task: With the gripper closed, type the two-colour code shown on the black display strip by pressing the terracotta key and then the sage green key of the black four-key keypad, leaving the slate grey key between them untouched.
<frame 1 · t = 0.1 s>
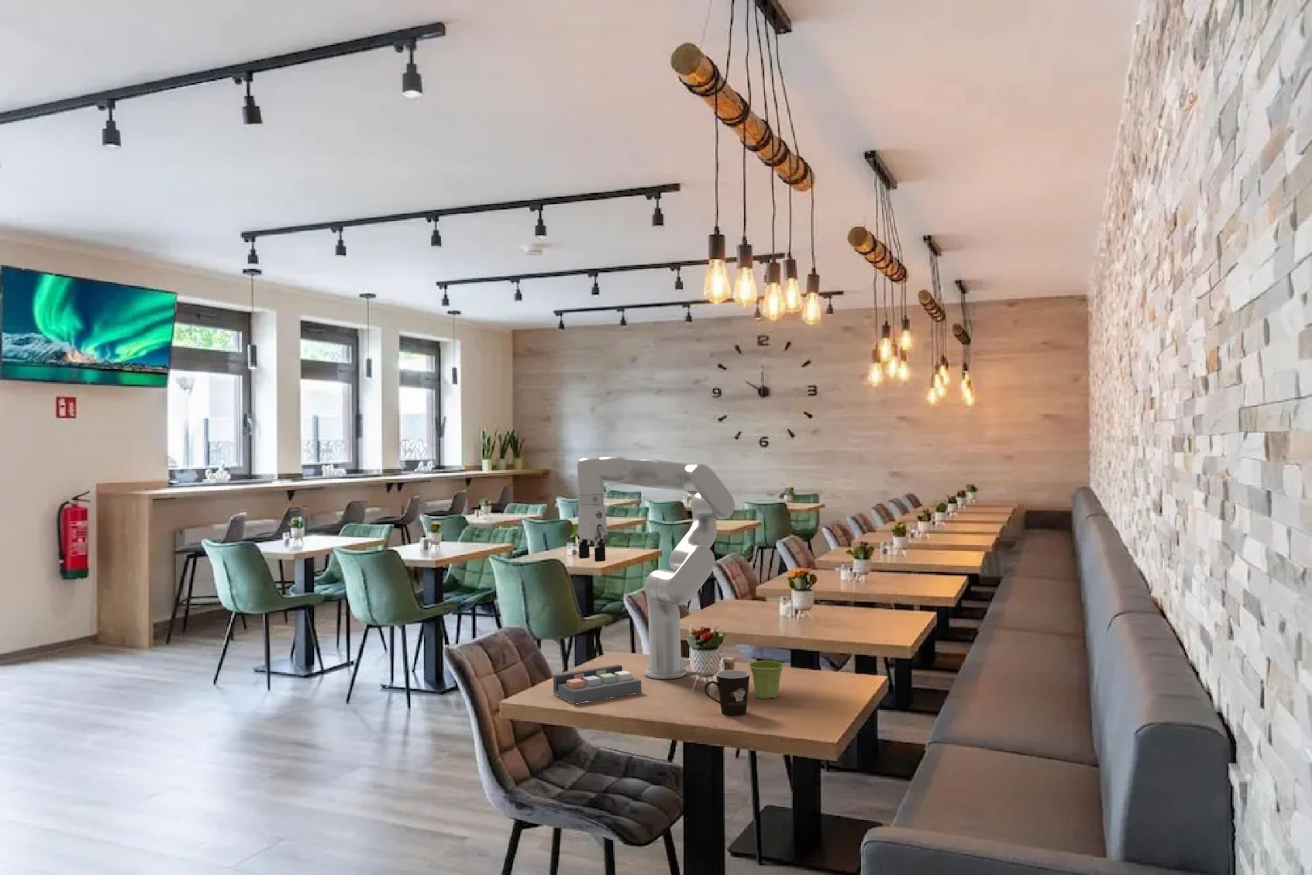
hand: (592, 559, 274), 37 cm above the table, tool pointing down, fingers open, 9 cm apart
coffee mug: (728, 713, 244), on the table
key cream: (623, 676, 268), point 4 cm above the table, slide at 0.0 cm
key terracotta: (575, 684, 261), point 4 cm above the table, slide at 0.0 cm
key sage: (607, 679, 266), point 4 cm above the table, slide at 0.0 cm
plant pot: (767, 696, 259), on the table
keypad: (599, 694, 264), on the table
key slate: (591, 682, 263), point 4 cm above the table, slide at 0.0 cm
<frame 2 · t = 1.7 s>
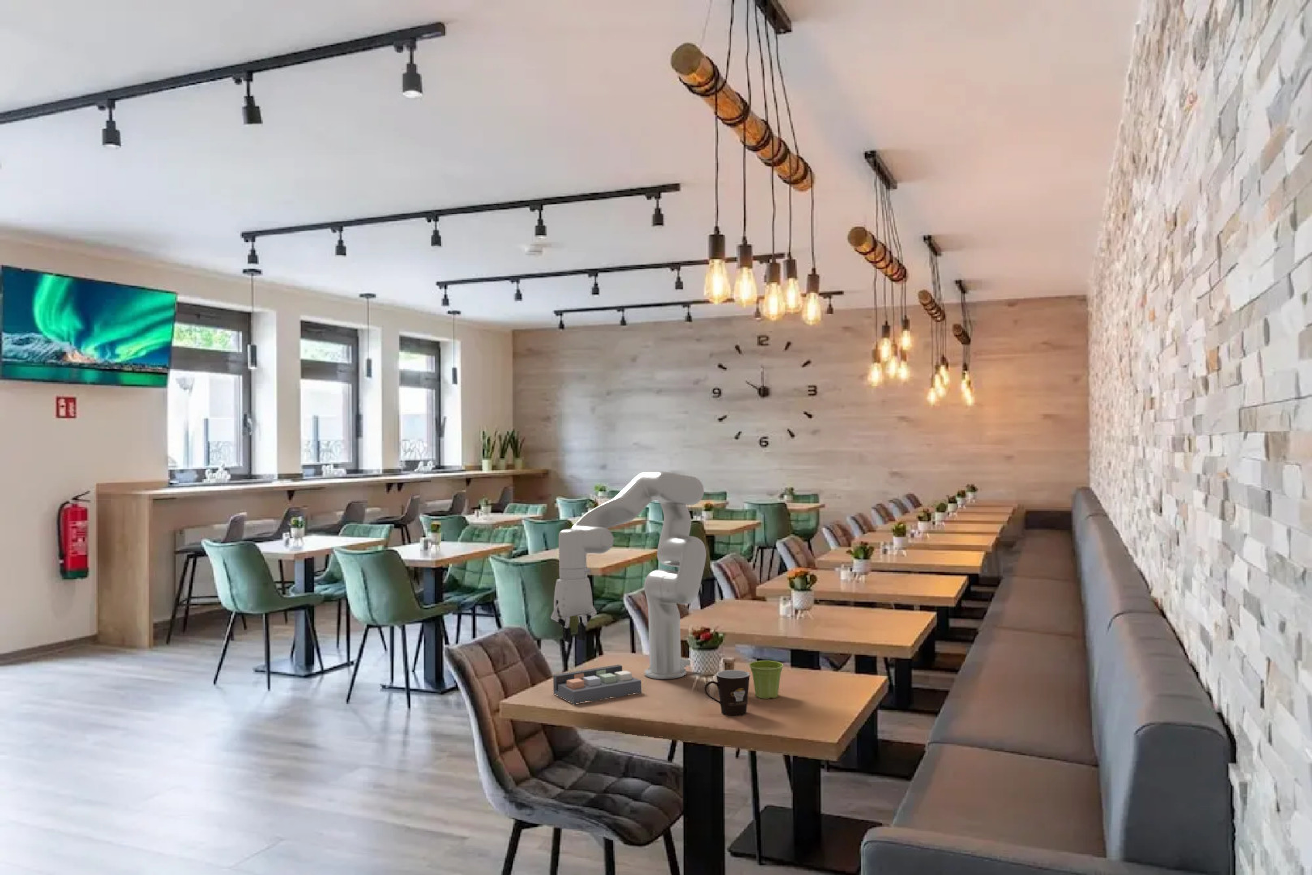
hand: (574, 639, 261), 16 cm above the table, tool pointing down, fingers open, 3 cm apart
nothing on the table moved.
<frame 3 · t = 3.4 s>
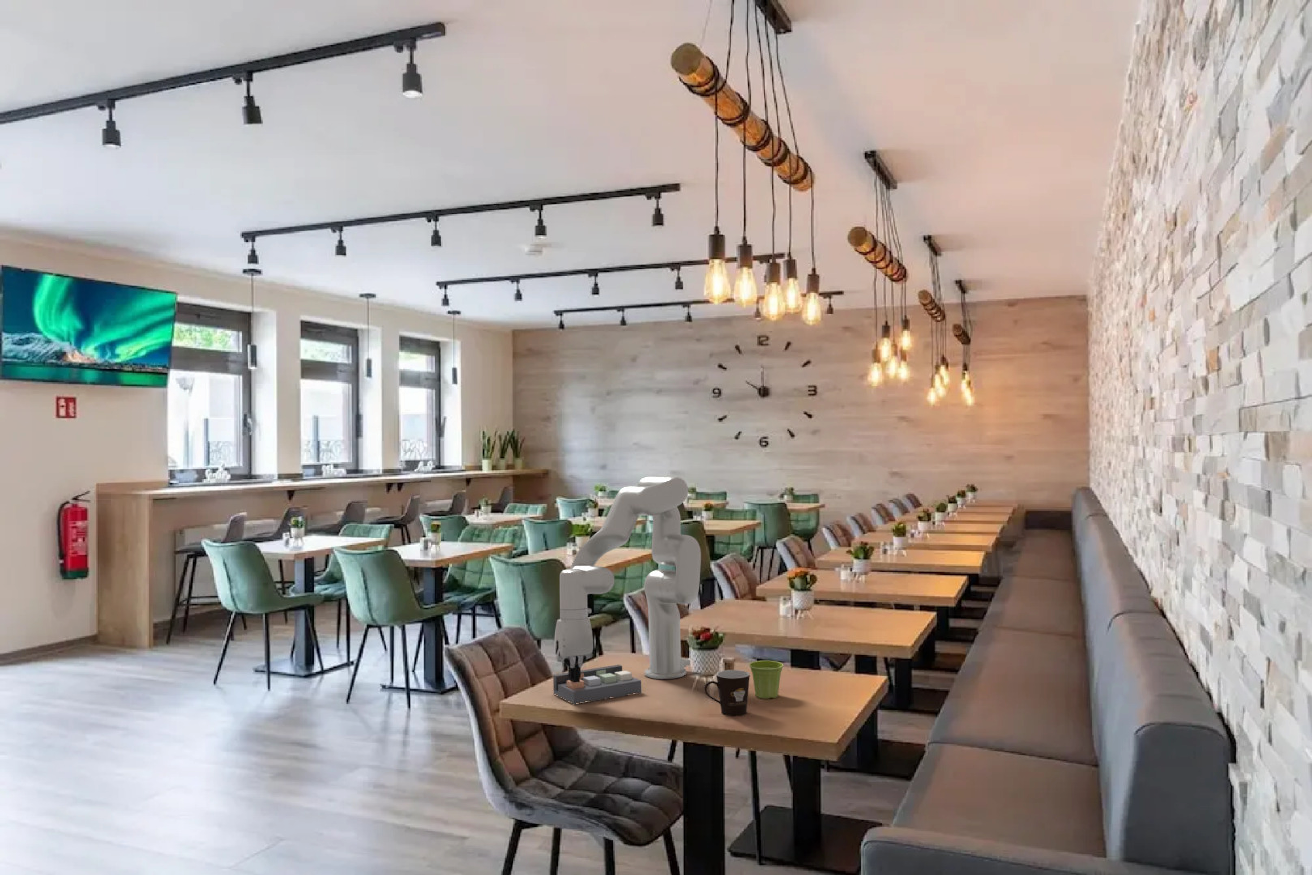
hand: (574, 681, 260), 5 cm above the table, tool pointing down, fingers closed
key terracotta: (575, 685, 261), point 4 cm above the table, slide at 0.1 cm, touching gripper
everything else where it was.
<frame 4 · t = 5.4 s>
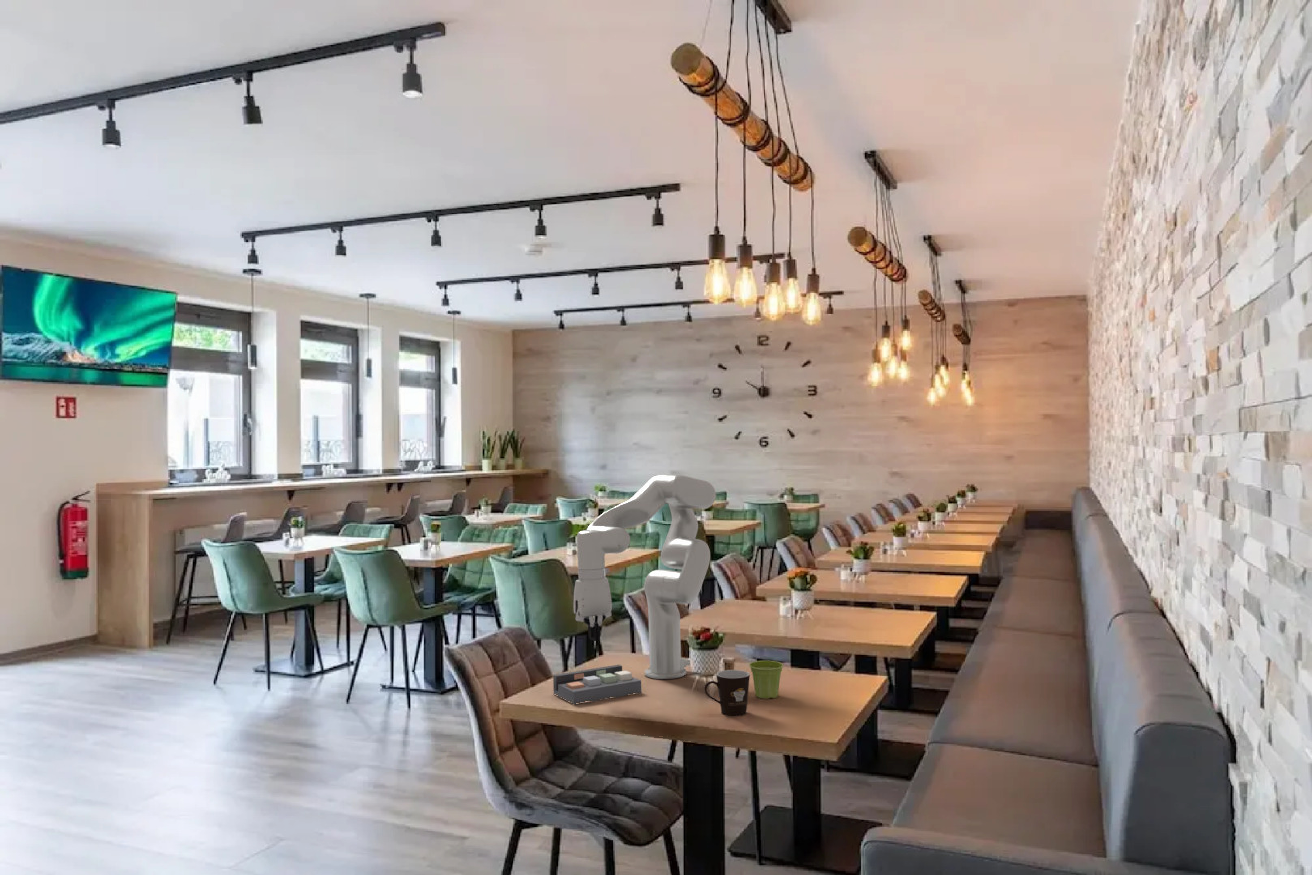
hand: (594, 639, 264), 15 cm above the table, tool pointing down, fingers closed
key terracotta: (575, 688, 261), point 3 cm above the table, slide at 0.9 cm
everything else where it was.
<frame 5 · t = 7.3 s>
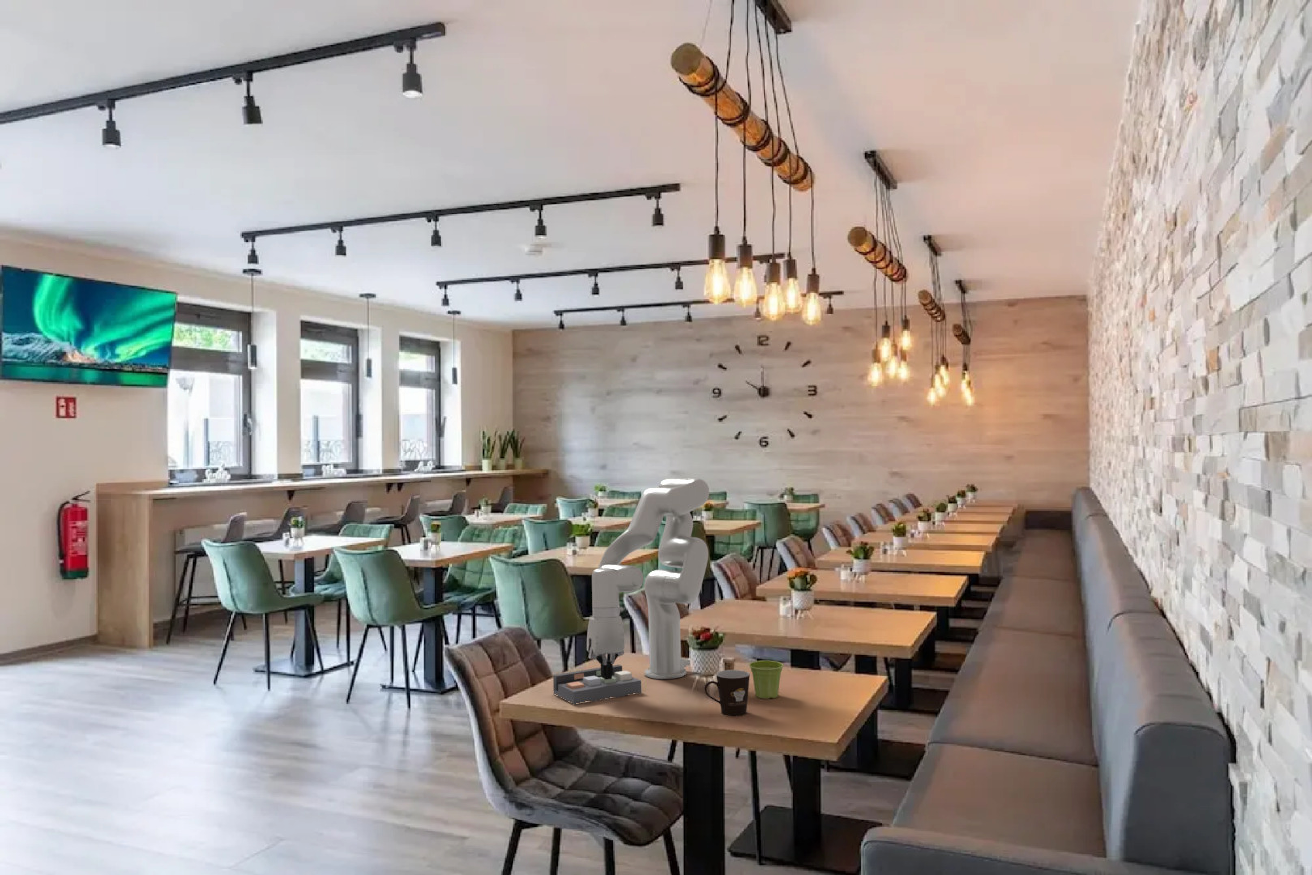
hand: (606, 677, 266), 4 cm above the table, tool pointing down, fingers closed
key sage: (607, 682, 266), point 3 cm above the table, slide at 0.8 cm, touching gripper
everything else where it was.
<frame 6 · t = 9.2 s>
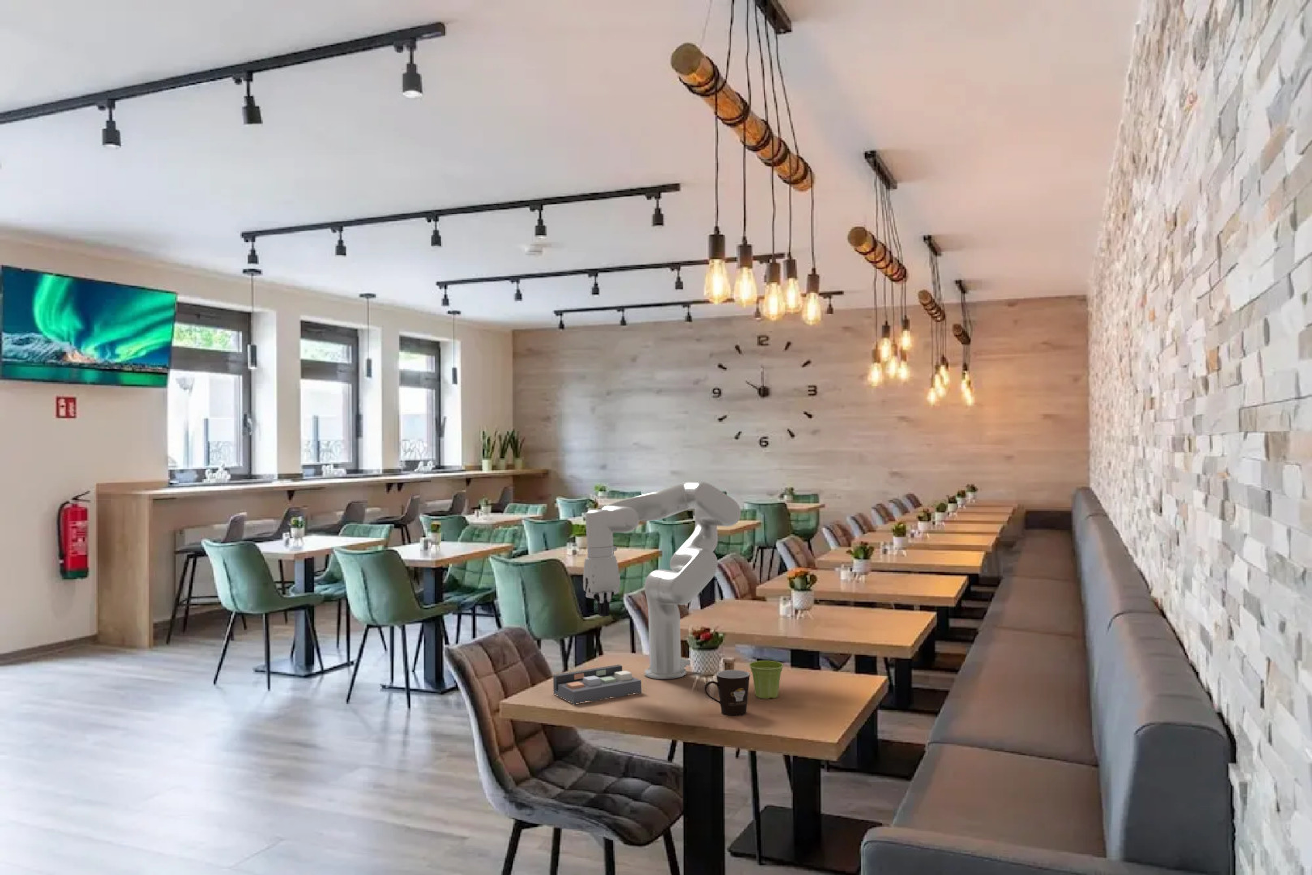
hand: (604, 615, 273), 21 cm above the table, tool pointing down, fingers closed
key sage: (607, 682, 266), point 3 cm above the table, slide at 0.9 cm
everything else where it was.
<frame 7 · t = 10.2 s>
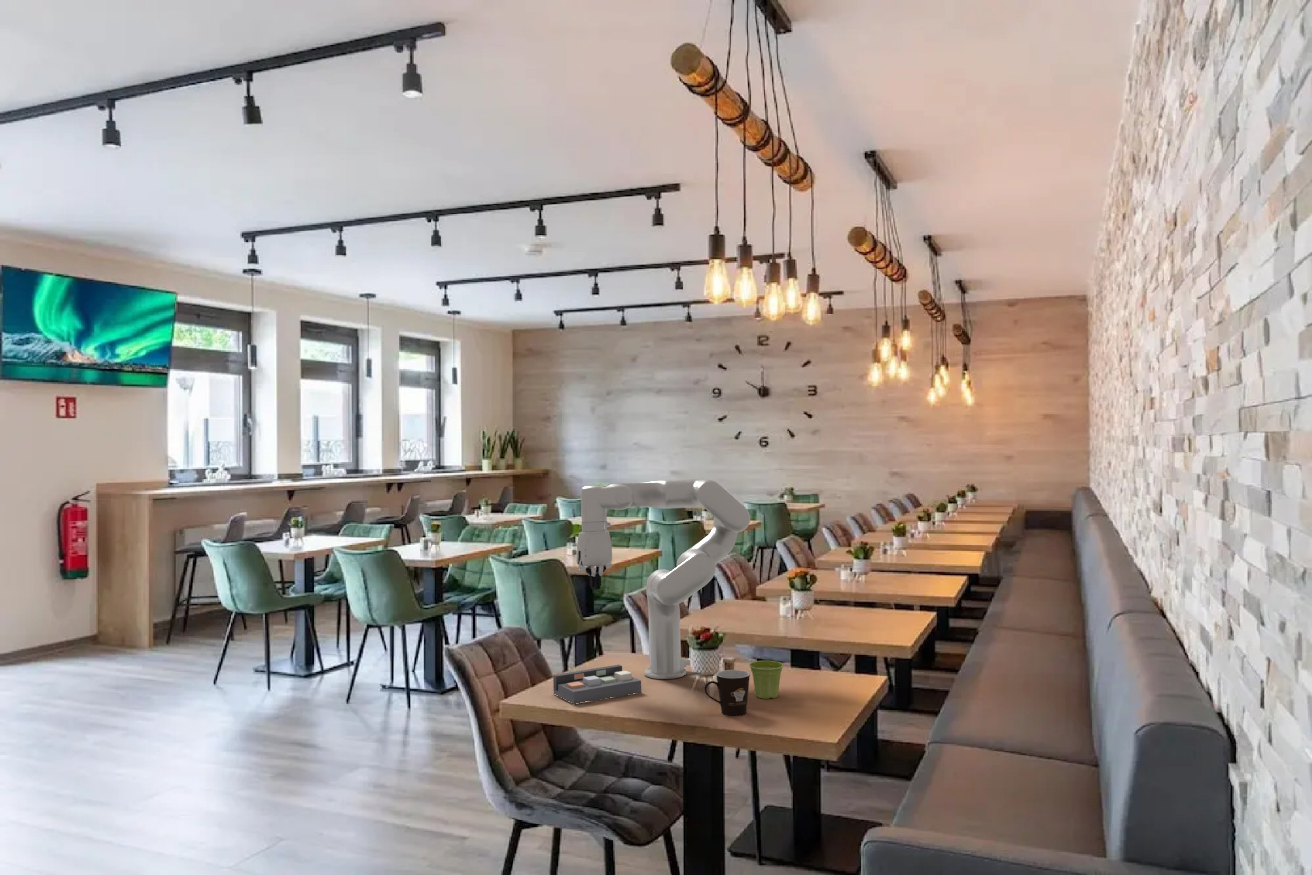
hand: (595, 588, 281), 27 cm above the table, tool pointing down, fingers closed
nothing on the table moved.
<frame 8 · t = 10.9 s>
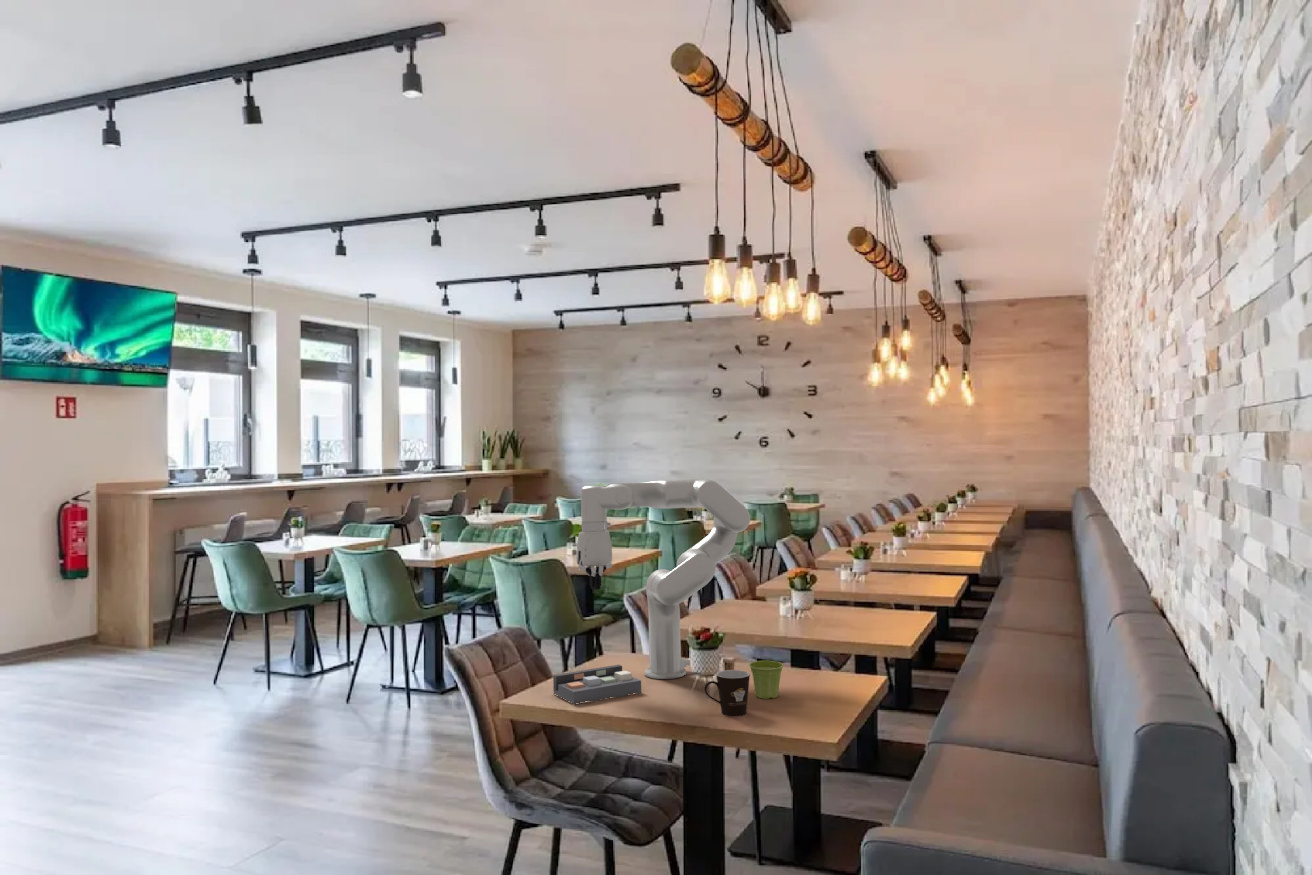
hand: (595, 588, 281), 27 cm above the table, tool pointing down, fingers closed
nothing on the table moved.
at the end: key terracotta slide at 0.9 cm; key sage slide at 0.9 cm; key slate slide at 0.0 cm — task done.
